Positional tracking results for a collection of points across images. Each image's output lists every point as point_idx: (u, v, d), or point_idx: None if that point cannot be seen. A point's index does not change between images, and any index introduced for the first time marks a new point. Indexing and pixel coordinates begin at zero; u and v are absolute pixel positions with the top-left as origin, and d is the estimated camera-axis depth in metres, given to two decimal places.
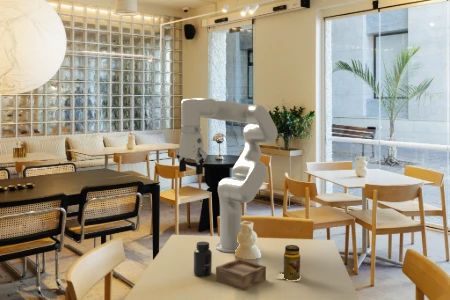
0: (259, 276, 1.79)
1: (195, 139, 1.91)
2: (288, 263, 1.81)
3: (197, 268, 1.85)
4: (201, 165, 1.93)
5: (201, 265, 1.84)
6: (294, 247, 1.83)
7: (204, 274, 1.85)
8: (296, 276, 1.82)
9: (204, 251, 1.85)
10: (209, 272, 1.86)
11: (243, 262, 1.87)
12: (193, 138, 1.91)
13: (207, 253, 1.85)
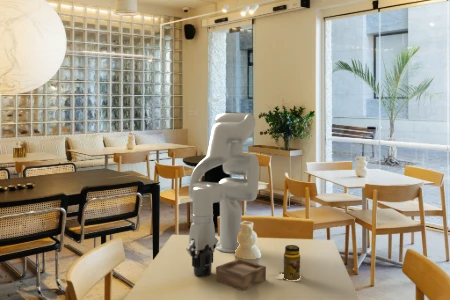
0: (259, 276, 1.79)
1: None
2: (288, 263, 1.81)
3: (197, 268, 1.85)
4: None
5: (201, 265, 1.84)
6: (294, 247, 1.83)
7: (204, 274, 1.85)
8: (296, 276, 1.82)
9: (203, 251, 1.85)
10: (209, 272, 1.86)
11: (243, 262, 1.87)
12: (213, 225, 1.87)
13: (207, 253, 1.85)
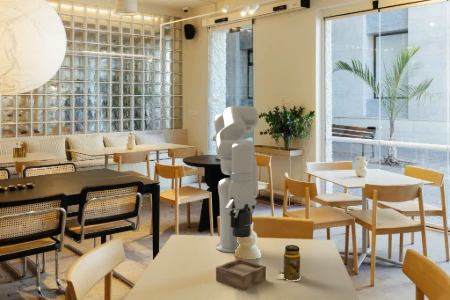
0: (259, 276, 1.79)
1: None
2: (288, 263, 1.81)
3: None
4: None
5: (241, 225, 1.75)
6: (294, 247, 1.83)
7: (243, 235, 1.76)
8: (296, 276, 1.82)
9: (243, 211, 1.76)
10: (248, 233, 1.77)
11: (243, 262, 1.87)
12: (252, 184, 1.79)
13: (247, 213, 1.76)
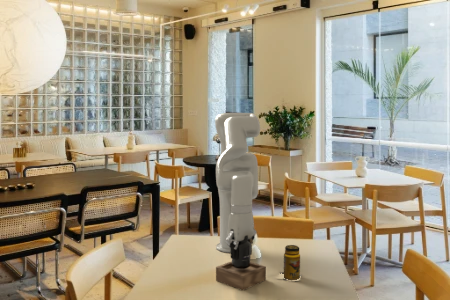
0: (259, 276, 1.79)
1: None
2: (288, 263, 1.81)
3: (236, 260, 1.77)
4: None
5: (241, 256, 1.77)
6: (294, 247, 1.83)
7: (243, 266, 1.77)
8: (296, 276, 1.82)
9: (243, 243, 1.77)
10: (248, 264, 1.78)
11: None
12: (252, 215, 1.80)
13: (246, 244, 1.77)
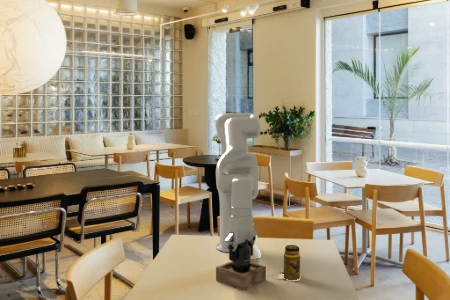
0: (259, 276, 1.79)
1: None
2: (288, 263, 1.81)
3: (236, 263, 1.78)
4: None
5: (241, 260, 1.77)
6: (294, 247, 1.83)
7: (243, 270, 1.78)
8: (296, 276, 1.82)
9: (243, 246, 1.78)
10: (248, 268, 1.79)
11: None
12: (252, 218, 1.80)
13: (246, 248, 1.78)
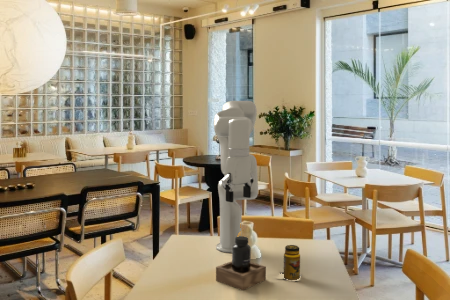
0: (259, 276, 1.79)
1: None
2: (288, 263, 1.81)
3: (236, 263, 1.78)
4: None
5: (241, 260, 1.77)
6: (294, 247, 1.83)
7: (243, 270, 1.78)
8: (296, 276, 1.82)
9: (243, 246, 1.78)
10: (248, 268, 1.79)
11: None
12: (249, 160, 1.79)
13: (246, 248, 1.78)
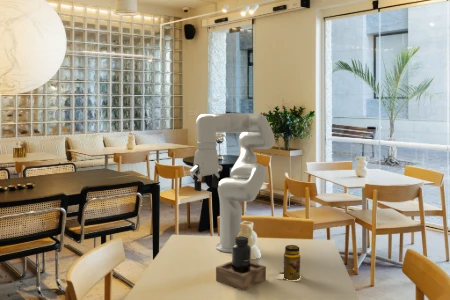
0: (259, 276, 1.79)
1: None
2: (288, 263, 1.81)
3: (236, 263, 1.78)
4: None
5: (241, 260, 1.77)
6: (294, 247, 1.83)
7: (243, 270, 1.78)
8: (296, 276, 1.82)
9: (243, 246, 1.78)
10: (248, 268, 1.79)
11: None
12: (216, 153, 1.97)
13: (246, 248, 1.78)
